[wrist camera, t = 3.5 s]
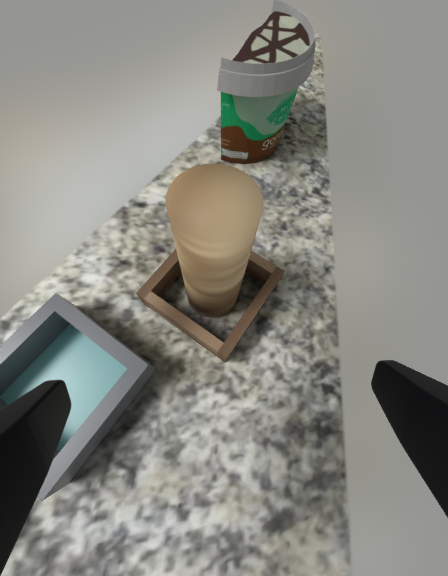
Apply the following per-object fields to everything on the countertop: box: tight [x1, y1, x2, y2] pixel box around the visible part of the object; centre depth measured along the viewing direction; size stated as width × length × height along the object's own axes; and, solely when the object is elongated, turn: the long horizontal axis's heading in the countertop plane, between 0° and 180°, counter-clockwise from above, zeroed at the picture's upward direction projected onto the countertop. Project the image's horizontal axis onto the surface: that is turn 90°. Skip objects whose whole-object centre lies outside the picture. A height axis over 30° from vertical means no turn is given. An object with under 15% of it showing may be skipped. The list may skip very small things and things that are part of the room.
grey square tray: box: [0, 293, 157, 501], centre depth 18 cm, size 9×9×3 cm
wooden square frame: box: [136, 250, 285, 362], centre depth 22 cm, size 9×9×2 cm
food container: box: [217, 0, 315, 164], centre depth 26 cm, size 12×6×10 cm, turn 154°
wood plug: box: [166, 164, 263, 317], centre depth 17 cm, size 4×4×12 cm
